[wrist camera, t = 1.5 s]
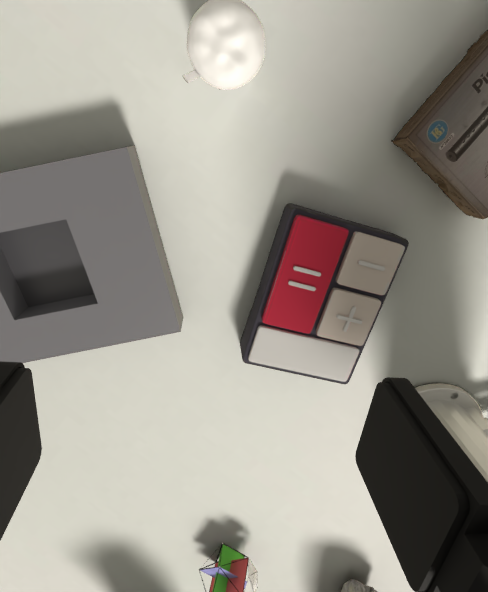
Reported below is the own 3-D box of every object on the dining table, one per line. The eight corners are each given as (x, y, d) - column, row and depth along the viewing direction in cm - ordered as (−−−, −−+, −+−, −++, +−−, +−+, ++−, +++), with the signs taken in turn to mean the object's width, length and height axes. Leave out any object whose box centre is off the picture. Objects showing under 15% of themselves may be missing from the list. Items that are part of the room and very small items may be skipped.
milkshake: (174, 69, 30) (154, 41, 20) (227, 16, 28) (232, -38, 19) (213, 119, 31) (212, 114, 22) (265, 71, 30) (286, 45, 21)
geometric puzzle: (219, 599, 53) (247, 639, 46) (181, 580, 50) (205, 618, 44) (246, 546, 55) (276, 577, 48) (211, 526, 53) (237, 555, 46)
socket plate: (134, 145, 31) (125, 147, 28) (183, 317, 38) (179, 334, 35) (-102, 194, 32) (-139, 201, 28) (-15, 356, 38) (-37, 377, 35)
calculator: (415, 242, 33) (350, 390, 38) (392, 232, 37) (337, 367, 42) (293, 207, 31) (241, 367, 36) (284, 200, 35) (238, 345, 40)
